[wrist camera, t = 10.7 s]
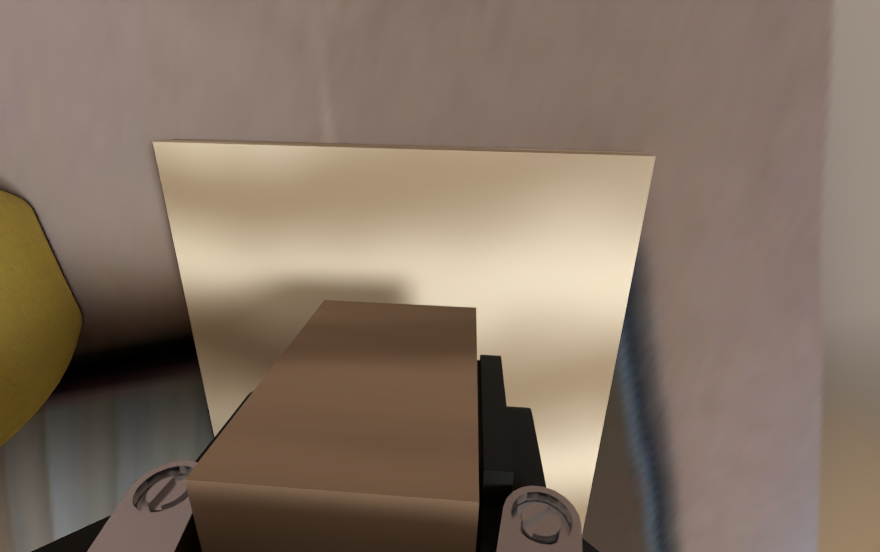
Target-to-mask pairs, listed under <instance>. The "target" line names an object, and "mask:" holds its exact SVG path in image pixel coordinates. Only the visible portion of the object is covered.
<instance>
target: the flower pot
mask: <svg viewBox="0 0 880 552" xmlns="http://www.w3.org/2000/svg"><path fill="white" fill-rule="evenodd" d="M81 327H82V315H81V312H80V309H79V307H78V305H77V303H76V301H75V299H74V297H73V295H72V293H71V291H70V289H69V287H68V285H67V283H66V280H65V278H64V276H63V274H62V272H61V270H60V268H59V266H58V264H57V261H56V259H55V257H54V255H53V253H52V251H51V248H50V246H49V244H48V242H47V240H46V238H45V235H44V233H43V231H42V229H41V227H40V224H39V222H38V220H37V217H36V215H35V214H34V212H33V210H32V208H31V207H30V205H29V204H28V203H27V202H26V201H25V200H23V199H21V198H19V197H17V196H15V195H12V194H10V193H8V192H5V191H2V190H0V447H1V446H2V445H3V444H5V443H6V442H7V441H8V440H9V439H10V438H11V437H12V436H13V435H14V434H15V433H16V432H17V431H19V430H20V429H21V428H22V427H23V426H24V425H25V424H26V423H27V422H28V421H29V420H30V419H31V418H32V417H33V416H34V415H35V413H36V412H37V411H38V410H39V409H40V408H41V406H42V405H43V404H44V403H45V401H46V400H47V399H48V398H49V396H50V395H51V393H52V392H53V391H54V389H55V388H56V386H57V385H58V383H59V382H60V380H61V378H62V376H63V375H64V373H65V371H66V369H67V367H68V365H69V363H70V361H71V359H72V356H73V353H74V351H75V348H76V345H77V342H78V338H79V334H80V331H81Z"/></svg>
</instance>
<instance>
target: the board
mask: <svg viewBox="0 0 880 552" xmlns="http://www.w3.org/2000/svg"><path fill="white" fill-rule="evenodd" d="M153 146H154V151H155V155H156V160H157V165H158V170H159V175H160V179H161V184H162V189H163V194H164V198H165V203H166V208H167V213H168V218H169V222H170V227H171V232H172V237H173V241H174V246H175V251H176V256H177V261H178V265H179V270H180V275H181V280H182V284H183V289H184V294H185V299H186V304H187V308H188V313H189V318H190V323H191V327H192V332H193V337H194V342H195V347H196V351H197V356H198V361H199V366H200V370H201V375H202V380H203V385H204V390H205V394H206V399H207V404H208V409H209V413H210V418H211V423H212V428H213V433H214V437H215V436H216V435H217V434H218V432H219V431H220V430H221V428H222V427H223V426H224V425H225V423H226V422H227V421H228V420H229V418H230V417H231V416H232V414H233V413H234V412H235V411H236V409H237V408H238V407H239V406H240V404H241V403H242V402H243V400H244V399H245V398H246V397H247V395H248V394H249V393H251V392H252V391H254V390H255V389H256V387H257V386H258V385H259V383H260V382H261V381H262V380H263V378H264V377H265V376H266V374H267V373H268V372H269V371H270V369H271V368H272V367H273V365H274V364H275V363H276V362H277V360H278V359H279V358H280V356H281V355H282V354H283V353H284V351H285V350H286V349H287V347H288V346H289V345H290V344H291V342H292V341H293V340H294V338H295V337H296V336H297V335H298V333H299V332H300V331H301V329H302V328H303V327H304V326H305V324H306V323H307V322H308V320H309V319H310V318H311V317H312V315H313V314H314V313H315V311H316V310H317V309H318V308H319V306H320V305H321V304H322V302H323V301H324V300H333V301H353V302H373V303H394V304H414V305H434V306H454V307H474V308H476V325H477V360H480V355H496V356H501V360H502V369H503V378H504V387H505V396H506V405H507V406H510V407H526V408H530V409H531V411H532V415H533V420H534V426H535V431H536V436H537V441H538V446H539V452H540V457H541V462H542V467H543V472H544V478H545V483H546V488H549V489H552V490H555V491H556V492H558V493H559V494H561V495H563V496H564V497H566V498H567V499H568V500H569V501H570V502H571V503H572V504H573V506H574V507H575V509H576V511H577V512H578V514H579V517H580V521H581V526H582V532H583V527H584V521H585V516H586V511H587V506H588V501H589V496H590V491H591V485H592V480H593V475H594V470H595V465H596V460H597V455H598V450H599V444H600V439H601V434H602V429H603V424H604V419H605V414H606V408H607V403H608V398H609V393H610V388H611V383H612V378H613V372H614V367H615V362H616V357H617V352H618V347H619V342H620V337H621V331H622V326H623V321H624V316H625V311H626V306H627V301H628V295H629V290H630V285H631V280H632V275H633V270H634V265H635V259H636V254H637V249H638V244H639V239H640V234H641V229H642V224H643V218H644V213H645V208H646V203H647V198H648V193H649V188H650V182H651V177H652V172H653V167H654V162H655V157H656V156H653V155H650V154H646V153H642V152H622V151H586V150H550V149H515V148H479V147H443V146H408V145H372V144H336V143H301V142H265V141H229V140H194V139H173V140H164V141H155V142H153Z"/></svg>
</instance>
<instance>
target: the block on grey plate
mask: <svg viewBox="0 0 880 552" xmlns="http://www.w3.org/2000/svg"><path fill="white" fill-rule="evenodd" d="M185 484H186V488H187V492H188V496H189V500H190V504H191V508H192V512H193V517H194V521H195V525H196V529H197V533H198V537H199V541H200V545H201V549H202V552H476V540H477V526H478V512H479V456H478V391H477V325H476V308H474V307H454V306H434V305H414V304H394V303H373V302H353V301H333V300H324V301H323V302H322V304H321V305H320V306H319V308H318V309H317V310H316V311H315V313H314V314H313V315H312V317H311V318H310V319H309V320H308V322H307V323H306V324H305V326H304V327H303V328H302V329H301V331H300V332H299V333H298V335H297V336H296V337H295V338H294V340H293V341H292V342H291V344H290V345H289V346H288V347H287V349H286V350H285V351H284V353H283V354H282V355H281V356H280V358H279V359H278V360H277V362H276V363H275V364H274V365H273V367H272V368H271V369H270V371H269V372H268V373H267V374H266V376H265V377H264V378H263V380H262V381H261V382H260V383H259V385H258V386H257V387H256V389H255V390H254V391H253V392H252V394H251V395H250V396H249V398H248V399H247V400H246V401H245V403H244V404H243V405H242V407H241V408H240V409H239V410H238V412H237V413H236V414H235V416H234V417H233V418H232V419H231V421H230V422H229V423H228V425H227V426H226V427H225V428H224V430H223V431H222V432H221V434H220V435H219V436H218V437H217V439H216V440H215V441H214V443H213V444H212V445H211V446H210V448H209V449H208V450H207V452H206V453H205V454H204V455H203V457H202V458H201V459H200V461H199V462H198V463H197V464H196V466H195V467H194V468H193V470H192V471H191V472H190V473H189V475H188V476H187V477H186V479H185Z"/></svg>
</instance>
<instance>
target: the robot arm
mask: <svg viewBox="0 0 880 552" xmlns="http://www.w3.org/2000/svg"><path fill="white" fill-rule="evenodd" d="M477 391H478V456H479V512H478V526H477V540H476V552H599V551H598V550H596V549H595V548H594V547H593V546H591V545H590V544H589V543H588V542H586V541H585V540H584V539H583V538H582V526H581V521H580V517H579V514H578V512H577V511H576V509H575V507H574V506H573V504H572V503H571V502H570V501H569V500H568V499H567V498H566V497H564V496H563V495H561V494H559V493H558V492H556V491H555V490H552V489H549V488H546V483H545V478H544V472H543V467H542V462H541V457H540V452H539V446H538V441H537V436H536V431H535V426H534V420H533V415H532V411H531V409H530V408H526V407H510V406H507V405H506V396H505V387H504V378H503V369H502V360H501V356H496V355H480V360H477ZM252 392H253V391H252ZM252 392H251V393H249V394H248V395H247V397H246V398H245V399H244V400H243V402H242V403H241V404H240V406H239V407H238V408H237V409H236V411H235V412H234V413H233V414H232V416H231V417H230V418H229V420H228V421H227V422H226V423H225V425H224V426H223V427H222V428H221V430H220V431H219V432H218V434H217V435H216V436H215V437H214V439H213V440H212V441H211V442H210V444H209V445H208V446H207V448H206V449H205V450H204V451H203V453H202V454H201V455H200V456H199V458H198V459H197V460H196V461H185V460H182V461H176V462H170V463H167V464H165V465H162V466H159V467H157V468H155V469H153V470H151V471H149V472H148V473H146V474H145V475H143V476H142V477H141V478H139V479H138V480H137V481H136V482H135V483H134V484H133V485H132V486H131V487H130V488H129V490H128V491H127V492H126V494H125V495H124V497H123V498H122V500H121V501H120V503H119V504H118V506H117V507H116V509H115V510H114V512H113V513H112V515H110V516H108V517H106V518H104V519H102V520H100V521H97V522H95V523H93V524H91V525H89V526H86V527H84V528H82V529H80V530H78V531H76V532H73V533H71V534H69V535H67V536H65V537H62V538H60V539H58V540H56V541H54V542H51V543H49V544H47V545H45V546H43V547H41V548H38V549H36V550H34V551H32V552H202V549H201V545H200V541H199V537H198V533H197V529H196V525H195V521H194V517H193V512H192V508H191V504H190V500H189V496H188V492H187V488H186V484H185V479H186V477H187V476H188V475H189V473H190V472H191V471H192V470H193V468H194V467H195V466H196V464H197V463H198V462H199V461H200V459H201V458H202V457H203V455H204V454H205V453H206V452H207V450H208V449H209V448H210V446H211V445H212V444H213V443H214V441H215V440H216V439H217V437H218V436H219V435H220V434H221V432H222V431H223V430H224V428H225V427H226V426H227V425H228V423H229V422H230V421H231V419H232V418H233V417H234V416H235V414H236V413H237V412H238V410H239V409H240V408H241V407H242V405H243V404H244V403H245V401H246V400H247V399H248V398H249V396H250V395H251V394H252Z"/></svg>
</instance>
